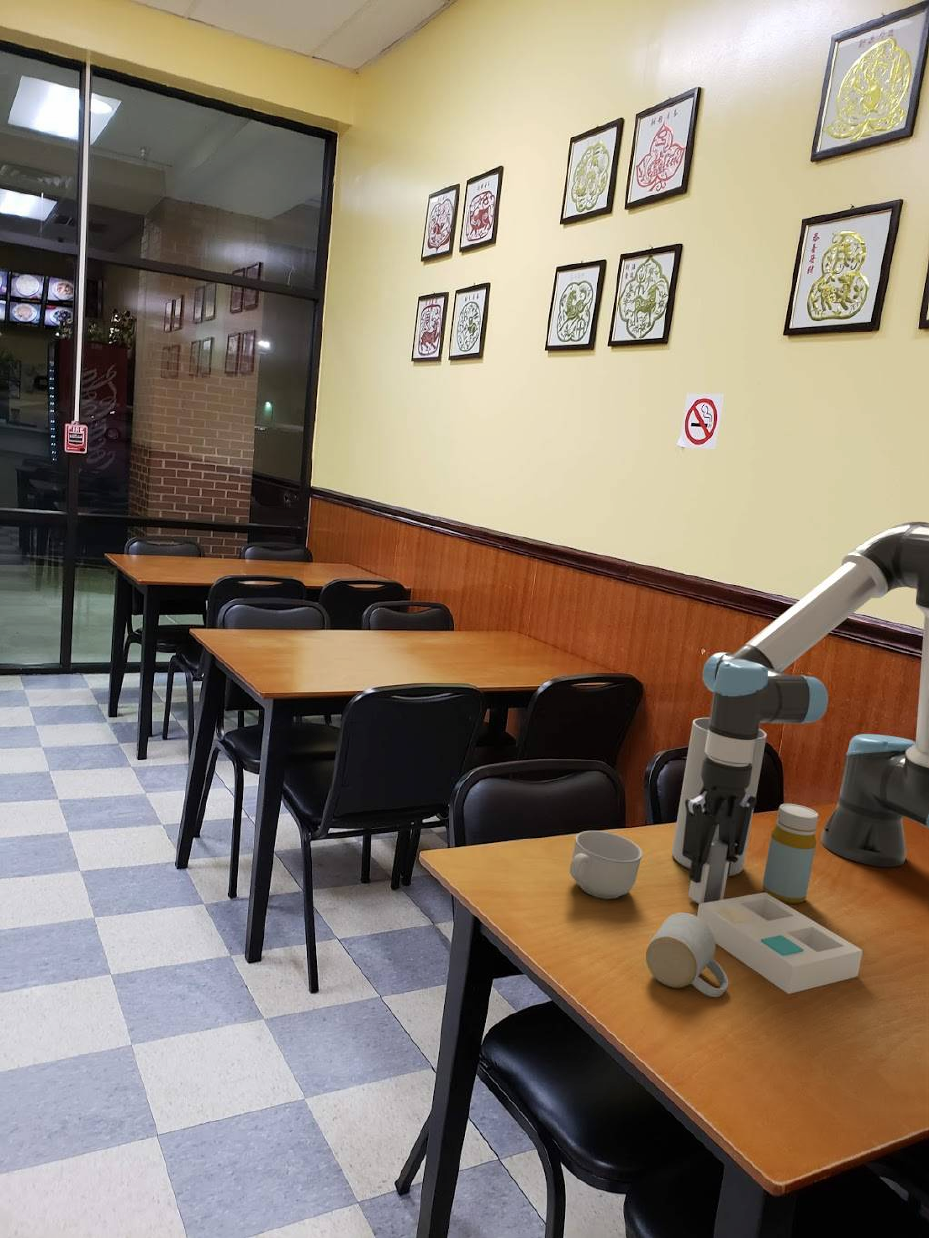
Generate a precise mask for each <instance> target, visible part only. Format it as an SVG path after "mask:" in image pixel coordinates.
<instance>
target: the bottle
mask: <svg viewBox="0 0 929 1238" xmlns="http://www.w3.org/2000/svg"><path fill="white" fill-rule="evenodd" d="M818 819H819V814H818V812H816V810H814V809H812V808H810V807H807V806H804V805H799V804H795V803H782V804H780V805H779V807H778V812H777V820H776V825H775V826H774V828H773V830H772V831H771V834H770V840H769V844H768V845H769V846H768V852H767V857H766V863H765V869H764V874H763V878H762V879H763V880H762V886H761V887H762V890H763V892H764V893H765V892H766V893H767V894H769V895H771V896H772V897H774V898H776V899H777V900H779V901H781V902H782V903H784V904H787V905H788V904H791V905H792V904H793V905H796V904H800V903H802V902H804V901H805V899H807V895H808V889H809V883H810V879H811V873H812V868H813V862H814V857H815V851H816V847H817V839H816V835H815V834H816V830H817V829H816V828H817V824H818V822H819V820H818Z"/></svg>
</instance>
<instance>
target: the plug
mask: <svg viewBox="0 0 929 1238" xmlns="http://www.w3.org/2000/svg"><path fill="white" fill-rule="evenodd" d="M727 849H728V844H727V843H725V842H723V841H721V840H718V839H714V838H713V841H712V844H711V847H710V851H709V854H708V857H707V861H706V863H707V864H709V865H710V866H709V872H708V878H707V885H706V891H705V897H704V903H707V902H713V901H718V900H719V898H720V892H721V886H722V880H723V874H724V868H725V861H726V855H727ZM693 902H694V903H695V904H697V905H699V903H698V902H696V901H695V900H693Z"/></svg>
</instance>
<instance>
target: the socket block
mask: <svg viewBox="0 0 929 1238" xmlns="http://www.w3.org/2000/svg"><path fill="white" fill-rule="evenodd" d="M696 917H698V918H700V919H701V920H702V921H703V922H704V923H705V924H706V925H707V926H708V927H709V929H710V930H711V932H712V934H713V936H714V940H715V944H716V945H718V946H719V947H721V948H722V949H723V950H725V951H726V952H728V953H729V954H731V955H732V956H733V957H734V958H736V959H737V960H739V961H741V962H742V963H744V964H745V965H746V966H747V967H749V968H751V970H753V971H755V972H757V974H759V975H761V976H762V977H763V978H765V979H766V980H767V981H769V982H770V983H772V984H773V985H775V986H776V987H777V988H779V989H780V990H781V991H783V992H784V993H786V994H788V995H790V994H794V993H799V992H802V991H805V990H809V989H810V990H811V989H814V988H817V987H822V986H825V985H829V984H834V983H837V982H842V981H845V980H849V979H854V978H857V977H858V976H859V972H860V971H859V970H860V967H861V966H860V965H861V961H862V958H863V957H862V956H863V952H864V951H863V949H861V948H860V947H858V946H856V945H855V944H853V943H851V942H850V941H847V940H846V939H844V938H843V937H841V936H839V935H838V934H836V933H835V932H833V931H831V930H829V929H828V928H826V927H824V926H823V925H820V923H817V922H816V921H814V920H813V919H811V918H810V917H808V916H807V915H804V914H802V913H801V912H799V911H797V910H796V909H794V908H792V907H790V906H789V905H788V904H787V903H783V902H781V901H779V900H777V899H776V898H774V897H772V896H771V895H769V894H767V893H766V892H765V891H764V892H760V893H754V894H747V895H743V896H738V897H731V898H723V900H718V901H713V902H707V903H701V904H698V909H697V914H696Z"/></svg>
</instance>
